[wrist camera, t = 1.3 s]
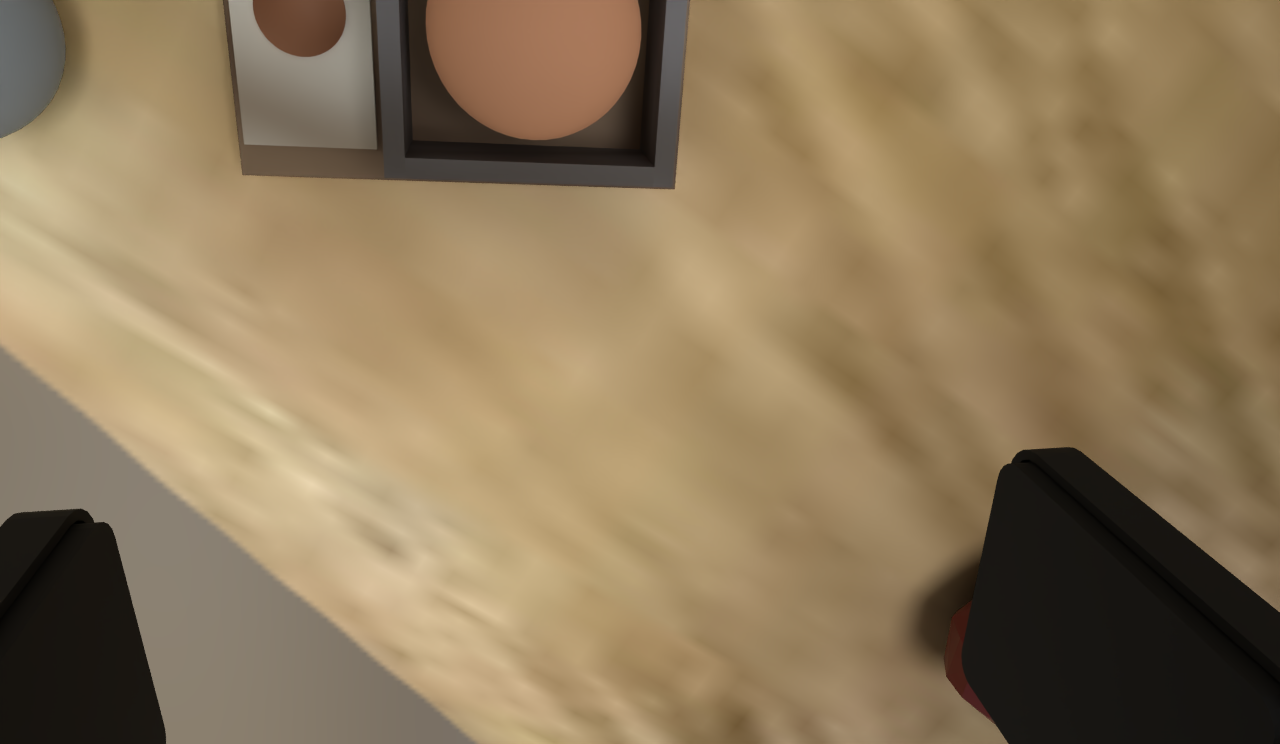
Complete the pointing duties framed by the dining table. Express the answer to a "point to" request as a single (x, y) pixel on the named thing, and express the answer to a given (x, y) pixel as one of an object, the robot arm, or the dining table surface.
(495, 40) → the seated terracotta ball
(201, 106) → the dining table surface
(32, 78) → the slate ball
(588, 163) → the grey divided tray
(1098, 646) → the robot arm
